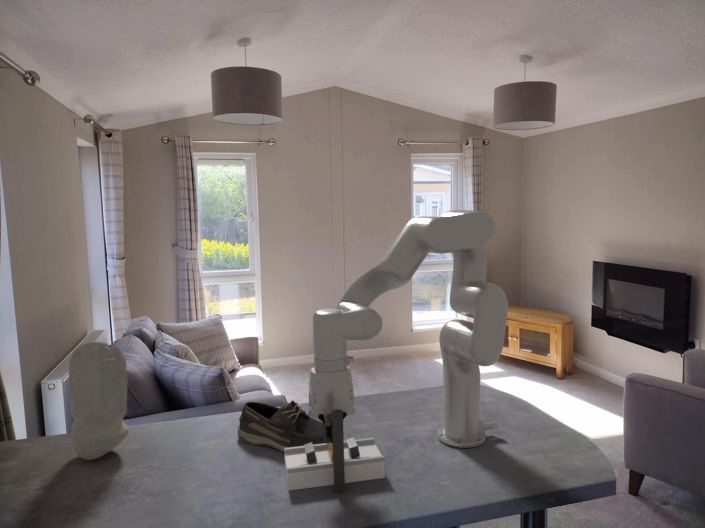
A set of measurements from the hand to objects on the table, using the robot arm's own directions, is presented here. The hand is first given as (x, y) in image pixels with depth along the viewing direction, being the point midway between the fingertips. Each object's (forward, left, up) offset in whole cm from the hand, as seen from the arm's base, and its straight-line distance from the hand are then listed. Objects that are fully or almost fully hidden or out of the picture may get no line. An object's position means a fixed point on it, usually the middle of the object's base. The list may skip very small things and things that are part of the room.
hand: (332, 439), depth 118 cm
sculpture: (+56, -22, -8) cm, 61 cm away
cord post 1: (0, -7, -8) cm, 11 cm away
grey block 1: (+5, 0, -4) cm, 6 cm away
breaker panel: (0, 0, -8) cm, 8 cm away
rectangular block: (0, 0, -4) cm, 4 cm away
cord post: (0, +8, -8) cm, 11 cm away
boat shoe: (+10, -18, -9) cm, 22 cm away
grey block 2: (-5, 0, -4) cm, 6 cm away
